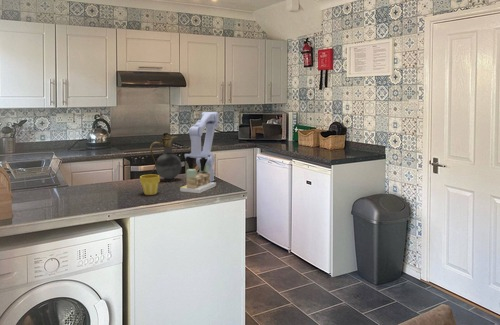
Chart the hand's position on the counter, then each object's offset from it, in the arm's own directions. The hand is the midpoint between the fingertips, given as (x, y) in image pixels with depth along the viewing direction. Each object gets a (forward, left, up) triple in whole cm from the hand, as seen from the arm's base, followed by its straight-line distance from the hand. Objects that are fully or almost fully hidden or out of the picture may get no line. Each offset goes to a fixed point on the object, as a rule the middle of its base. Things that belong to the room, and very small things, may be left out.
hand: (196, 170), depth 247 cm
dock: (+5, +4, -9) cm, 11 cm away
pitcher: (-7, -25, -10) cm, 28 cm away
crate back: (-3, +3, -1) cm, 5 cm away
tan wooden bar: (+5, +4, -7) cm, 10 cm away
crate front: (+12, +4, -1) cm, 12 cm away
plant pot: (+26, -14, -10) cm, 31 cm away
